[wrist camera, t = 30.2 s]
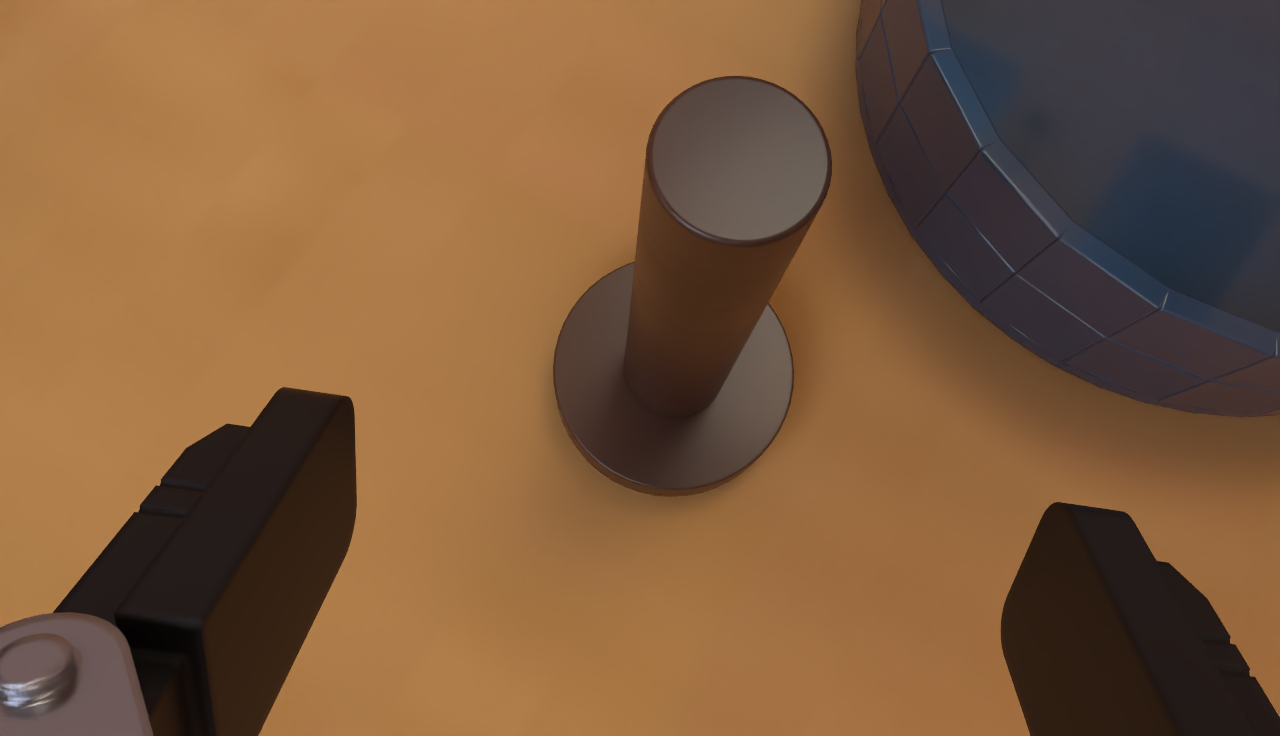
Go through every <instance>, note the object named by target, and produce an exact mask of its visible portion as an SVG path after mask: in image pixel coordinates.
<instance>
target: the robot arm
mask: <svg viewBox="0 0 1280 736" xmlns="http://www.w3.org/2000/svg"><path fill="white" fill-rule="evenodd" d="M356 507H357V494H356V456H355V417H354V407H353V403H352V400H351V398H350V397H348V396H341V395H334V394H327V393H320V392H314V391H307V390H300V389H293V388H286V387H283V388H281V389H279V390H278V391H277V392H276V393H275V394H274V396H273V397H272V398H271V400H270V401H269V403H268V404H267V405H266V407H265V408H264V409H263V411H262V412H261V413H260V415H259V416H258V417H257V419H256V420H255V422H254V423H253V424H252V426H251V427H246V426H239V425H233V424H226V425H224V426H222V427H221V428H219V429H217V430H216V431H214V432H212V433H211V434H209V435H207V436H206V437H204V438H202V439H201V440H199V441H197V442H196V443H194V444H192V445H191V446H189V447H187V448H186V449H185V450H184V452H183V453H182V454H181V455H180V457H179V458H178V459H177V460H176V462H175V463H174V464H173V465H172V466H171V468H170V469H169V470H168V471H167V473H166V474H165V475H164V476H163V478H162V479H161V484H160V486H155V487H154V489H153V490H152V491H151V492H150V494H149V495H148V496H147V497H146V499H145V500H144V501H143V502H142V503H141V505H140V510H139V512H138V513H137V512H134V513H133V515H132V516H131V517H130V518H129V520H128V521H127V522H126V523H125V524H124V526H123V527H122V528H121V529H120V531H119V532H118V533H117V534H116V536H115V537H114V538H113V539H112V540H111V542H110V543H109V544H108V545H107V547H106V548H105V549H104V550H103V552H102V553H101V554H100V555H99V557H98V558H97V559H96V560H95V561H94V563H93V564H92V565H91V566H90V568H89V569H88V570H87V571H86V573H85V574H84V575H83V576H82V577H81V579H80V580H79V581H78V582H77V584H76V585H75V586H74V587H73V589H72V590H71V591H70V592H69V593H68V595H67V596H66V597H65V598H64V600H63V601H62V602H61V603H60V605H59V606H58V607H57V608H56V610H55V611H54V612H53V613H50V614H42V615H37V616H33V617H29V618H25V619H22V620H19V621H16V622H13V623H10V624H7V625H5V626H3V627H1V628H0V736H258V735H259V733H260V731H261V729H262V726H263V724H264V722H265V720H266V718H267V716H268V714H269V712H270V710H271V708H272V706H273V704H274V702H275V700H276V698H277V696H278V694H279V692H280V690H281V687H282V685H283V683H284V681H285V679H286V677H287V675H288V673H289V671H290V669H291V667H292V665H293V663H294V661H295V659H296V657H297V655H298V653H299V651H300V649H301V646H302V644H303V642H304V640H305V638H306V636H307V634H308V632H309V630H310V628H311V626H312V624H313V622H314V620H315V618H316V616H317V614H318V612H319V610H320V607H321V605H322V603H323V601H324V599H325V597H326V595H327V593H328V591H329V589H330V587H331V585H332V583H333V581H334V579H335V577H336V575H337V573H338V571H339V568H340V566H341V564H342V562H343V560H344V558H345V556H346V554H347V551H348V548H349V545H350V542H351V538H352V534H353V529H354V524H355V518H356ZM1001 643H1002V649H1003V654H1004V657H1005V660H1006V663H1007V666H1008V669H1009V672H1010V675H1011V678H1012V681H1013V684H1014V687H1015V690H1016V693H1017V696H1018V699H1019V702H1020V705H1021V708H1022V711H1023V714H1024V717H1025V720H1026V723H1027V726H1028V729H1029V732H1030V735H1031V736H1280V717H1279V716H1278V714H1277V712H1276V711H1275V709H1274V707H1273V706H1272V704H1271V703H1270V701H1269V699H1268V698H1267V696H1266V694H1265V693H1264V691H1263V689H1262V688H1261V686H1260V684H1259V683H1258V681H1257V680H1256V678H1255V677H1250V675H1249V670H1250V668H1249V666H1248V665H1247V663H1246V661H1245V660H1244V658H1243V657H1242V655H1241V653H1240V652H1239V650H1238V648H1237V647H1236V645H1234V644H1230V635H1229V634H1228V632H1227V630H1226V629H1225V627H1224V625H1223V624H1222V622H1221V620H1220V619H1219V617H1218V615H1217V614H1216V612H1215V611H1214V609H1213V607H1212V606H1211V604H1210V602H1209V601H1208V599H1207V598H1206V597H1205V596H1204V595H1203V594H1202V593H1201V592H1200V591H1198V590H1197V589H1196V588H1195V587H1194V586H1193V585H1192V584H1191V583H1190V582H1189V581H1188V580H1187V579H1186V578H1184V577H1183V576H1182V575H1181V574H1180V573H1179V572H1178V571H1177V570H1176V569H1175V568H1174V567H1173V566H1172V565H1170V564H1169V563H1166V562H1159V561H1156V559H1155V558H1154V556H1153V554H1152V552H1151V551H1150V549H1149V547H1148V545H1147V544H1146V542H1145V540H1144V538H1143V537H1142V535H1141V533H1140V531H1139V530H1138V528H1137V526H1136V524H1135V523H1134V521H1133V520H1132V518H1131V517H1130V516H1129V515H1128V514H1127V513H1125V512H1123V511H1116V510H1109V509H1102V508H1095V507H1088V506H1081V505H1075V504H1068V503H1061V502H1056V503H1053V504H1052V505H1050V506H1049V507H1048V508H1047V510H1046V511H1045V512H1044V514H1043V516H1042V518H1041V520H1040V523H1039V525H1038V527H1037V529H1036V532H1035V534H1034V536H1033V539H1032V541H1031V543H1030V545H1029V548H1028V550H1027V552H1026V554H1025V557H1024V559H1023V561H1022V564H1021V566H1020V568H1019V570H1018V573H1017V575H1016V577H1015V579H1014V582H1013V584H1012V586H1011V589H1010V591H1009V593H1008V595H1007V598H1006V601H1005V604H1004V607H1003V612H1002V619H1001Z"/></svg>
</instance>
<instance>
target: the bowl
mask: <svg viewBox="0 0 1280 736" xmlns="http://www.w3.org/2000/svg"><path fill="white" fill-rule="evenodd" d="M856 79H857V87H858V95H859V104H860V112H861V116H862V120H863V124H864V127H865V131H866V135H867V139H868V142H869V146H870V150H871V154H872V156H873V159H874V161H875V164H876V166H877V168H878V171H879V173H880V176H881V178H882V180H883V183H884V185H885V188H886V190H887V192H888V195H889V197H890V198H891V200H892V202H893V204H894V205H895V207H896V209H897V211H898V212H899V214H900V216H901V218H902V219H903V221H904V223H905V225H906V226H907V228H908V230H909V232H910V233H911V235H912V236H913V238H914V239H915V240H916V242H917V243H918V244H919V246H920V247H921V248H922V250H923V251H924V252H925V254H926V255H927V256H928V258H929V259H930V260H931V261H932V263H933V264H934V265H935V267H936V268H937V269H938V271H939V272H940V273H941V274H942V275H943V276H944V277H945V278H946V279H947V280H948V282H949V283H950V284H951V285H952V286H953V287H954V288H955V289H956V290H957V291H958V292H959V293H960V294H961V295H962V296H963V297H964V298H965V299H966V300H967V301H968V302H969V303H970V304H971V305H972V306H973V307H974V308H975V309H976V310H977V311H978V312H980V313H981V314H982V315H983V316H985V317H986V318H987V319H988V320H990V321H991V322H992V323H993V324H994V325H996V326H997V327H998V328H999V329H1001V330H1002V331H1003V332H1004V333H1005V334H1007V335H1008V336H1009V337H1010V338H1012V339H1013V340H1015V341H1016V342H1018V343H1019V344H1021V345H1023V346H1024V347H1026V348H1027V349H1029V350H1030V351H1032V352H1034V353H1035V354H1037V355H1038V356H1040V357H1041V358H1043V359H1045V360H1046V361H1048V362H1049V363H1051V364H1052V365H1054V366H1056V367H1058V368H1060V369H1063V370H1065V371H1067V372H1069V373H1071V374H1073V375H1075V376H1077V377H1079V378H1081V379H1083V380H1085V381H1087V382H1089V383H1091V384H1094V385H1096V386H1098V387H1100V388H1103V389H1106V390H1109V391H1112V392H1115V393H1118V394H1121V395H1124V396H1127V397H1130V398H1132V399H1135V400H1138V401H1141V402H1144V403H1148V404H1153V405H1157V406H1162V407H1167V408H1172V409H1176V410H1181V411H1186V412H1190V413H1198V414H1210V415H1222V416H1234V417H1255V416H1275V415H1280V0H862V3H861V9H860V15H859V21H858V26H857V34H856Z"/></svg>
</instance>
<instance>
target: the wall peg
mask: <svg viewBox="0 0 1280 736" xmlns="http://www.w3.org/2000/svg"><path fill="white" fill-rule="evenodd" d="M831 175H832V160H831V152H830V148H829V144H828V140H827V138H826V135H825V133H824V130H823V128H822V127H821V125H820V123H819V121H818V119H817V118H816V117H815V115H814V114H813V113H812V111H811V110H810V109H809V108H808V107H807V106H806V105H805V104H804V103H803V102H802V101H801V100H800V99H798V98H797V97H796V96H795V95H794V94H792V93H790V92H789V91H787V90H786V89H784V88H782V87H780V86H778V85H776V84H773V83H771V82H768V81H765V80H762V79H757V78H752V77H744V76H726V77H719V78H714V79H710V80H706V81H703V82H701V83H698V84H696V85H694V86H692V87H690V88H688V89H687V90H685V91H683V92H682V93H681V94H679V95H678V96H677V97H675V98H674V99H673V100H672V101H671V102H670V103H669V104H668V105H667V106H666V107H665V108H664V109H663V111H662V112H661V113H660V115H659V116H658V118H657V120H656V121H655V123H654V125H653V127H652V130H651V133H650V135H649V139H648V143H647V149H646V159H645V168H644V178H643V188H642V197H641V207H640V217H639V226H638V236H637V245H636V255H635V262H633V263H629V264H627V265H625V266H622V267H620V268H618V269H616V270H614V271H612V272H611V273H609V274H607V275H606V276H604V277H602V278H601V279H600V280H599V281H597V282H596V283H595V284H593V285H592V286H591V287H590V288H589V289H588V290H587V291H586V292H585V293H584V294H583V295H582V296H581V297H580V298H579V300H578V301H577V302H576V304H575V305H574V307H573V308H572V309H571V311H570V313H569V314H568V316H567V318H566V320H565V322H564V324H563V326H562V329H561V331H560V334H559V337H558V340H557V345H556V349H555V354H554V364H553V376H554V387H555V393H556V399H557V404H558V409H559V412H560V415H561V418H562V422H563V424H564V426H565V428H566V431H567V433H568V435H569V437H570V438H571V440H572V441H573V443H574V445H575V446H576V448H577V449H578V450H579V452H580V453H581V454H582V455H583V456H584V457H585V459H586V460H587V461H588V462H589V463H590V464H591V465H593V466H594V467H595V468H596V469H597V470H598V471H599V472H601V473H602V474H604V475H605V476H607V477H608V478H610V479H611V480H613V481H615V482H617V483H619V484H621V485H623V486H625V487H627V488H630V489H633V490H636V491H638V492H642V493H647V494H651V495H659V496H686V495H692V494H697V493H702V492H705V491H708V490H711V489H714V488H716V487H718V486H720V485H723V484H725V483H727V482H729V481H730V480H732V479H733V478H735V477H736V476H738V475H739V474H741V473H742V472H743V471H744V470H746V469H747V468H748V467H749V466H750V465H751V464H752V463H753V462H755V461H756V460H757V459H758V458H759V457H760V456H761V455H762V453H763V452H764V451H765V450H766V449H767V448H768V447H769V445H770V444H771V443H772V441H773V440H774V438H775V437H776V435H777V434H778V432H779V431H780V428H781V426H782V424H783V422H784V420H785V418H786V415H787V412H788V409H789V406H790V403H791V397H792V392H793V380H794V369H793V358H792V353H791V349H790V345H789V341H788V338H787V336H786V333H785V330H784V328H783V326H782V324H781V322H780V320H779V318H778V316H777V315H776V313H775V312H774V310H773V309H772V307H771V306H770V305H769V303H768V302H769V300H770V299H771V297H772V295H773V293H774V291H775V289H776V288H777V286H778V284H779V282H780V280H781V278H782V277H783V275H784V273H785V271H786V269H787V268H788V266H789V264H790V262H791V260H792V258H793V257H794V255H795V253H796V251H797V249H798V247H799V246H800V244H801V242H802V240H803V238H804V236H805V235H806V233H807V231H808V229H809V227H810V226H811V224H812V222H813V220H814V218H815V216H816V215H817V213H818V211H819V209H820V207H821V205H822V203H823V201H824V199H825V197H826V195H827V192H828V189H829V186H830V180H831Z"/></svg>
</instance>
